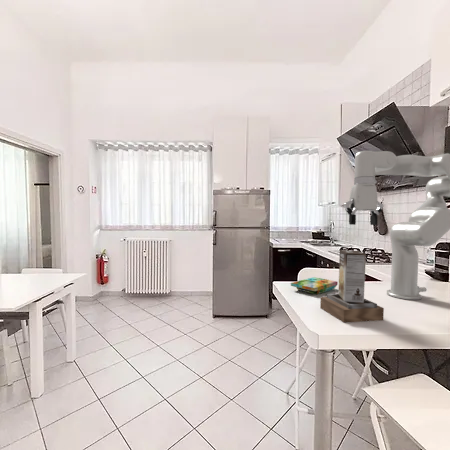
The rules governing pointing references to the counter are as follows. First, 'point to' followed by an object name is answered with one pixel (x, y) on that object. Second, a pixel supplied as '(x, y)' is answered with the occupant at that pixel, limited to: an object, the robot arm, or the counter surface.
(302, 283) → the puzzle game
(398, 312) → the counter surface
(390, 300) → the counter surface
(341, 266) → the coffee box
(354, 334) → the counter surface
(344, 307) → the plinth
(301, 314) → the counter surface
